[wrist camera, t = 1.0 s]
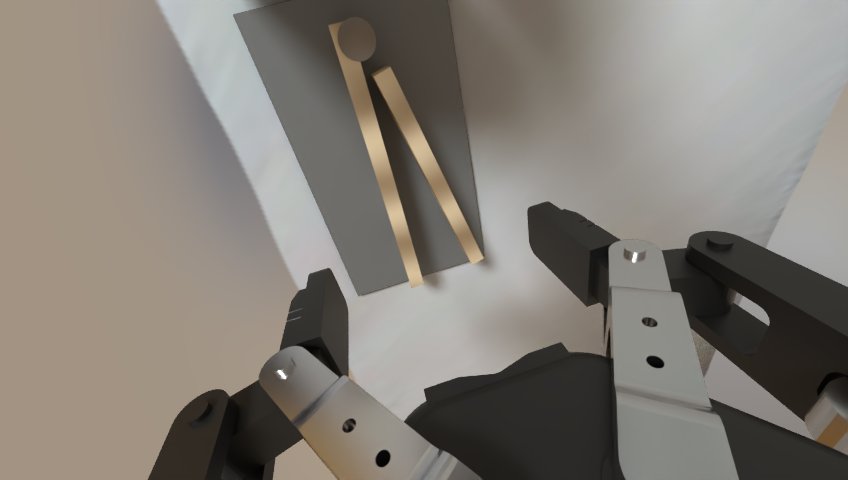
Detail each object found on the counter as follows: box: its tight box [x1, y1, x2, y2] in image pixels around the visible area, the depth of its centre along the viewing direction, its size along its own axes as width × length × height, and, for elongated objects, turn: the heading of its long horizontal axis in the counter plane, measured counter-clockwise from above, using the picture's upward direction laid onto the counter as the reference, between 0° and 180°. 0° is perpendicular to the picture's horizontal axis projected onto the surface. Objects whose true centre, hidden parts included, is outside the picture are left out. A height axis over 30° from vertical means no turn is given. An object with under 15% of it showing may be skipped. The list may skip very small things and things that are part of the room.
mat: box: [233, 0, 484, 296], centre depth 31 cm, size 28×16×1 cm, turn 15°
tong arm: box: [370, 66, 484, 265], centre depth 30 cm, size 20×1×4 cm, turn 29°
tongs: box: [328, 17, 424, 288], centre depth 29 cm, size 24×3×4 cm, turn 15°
